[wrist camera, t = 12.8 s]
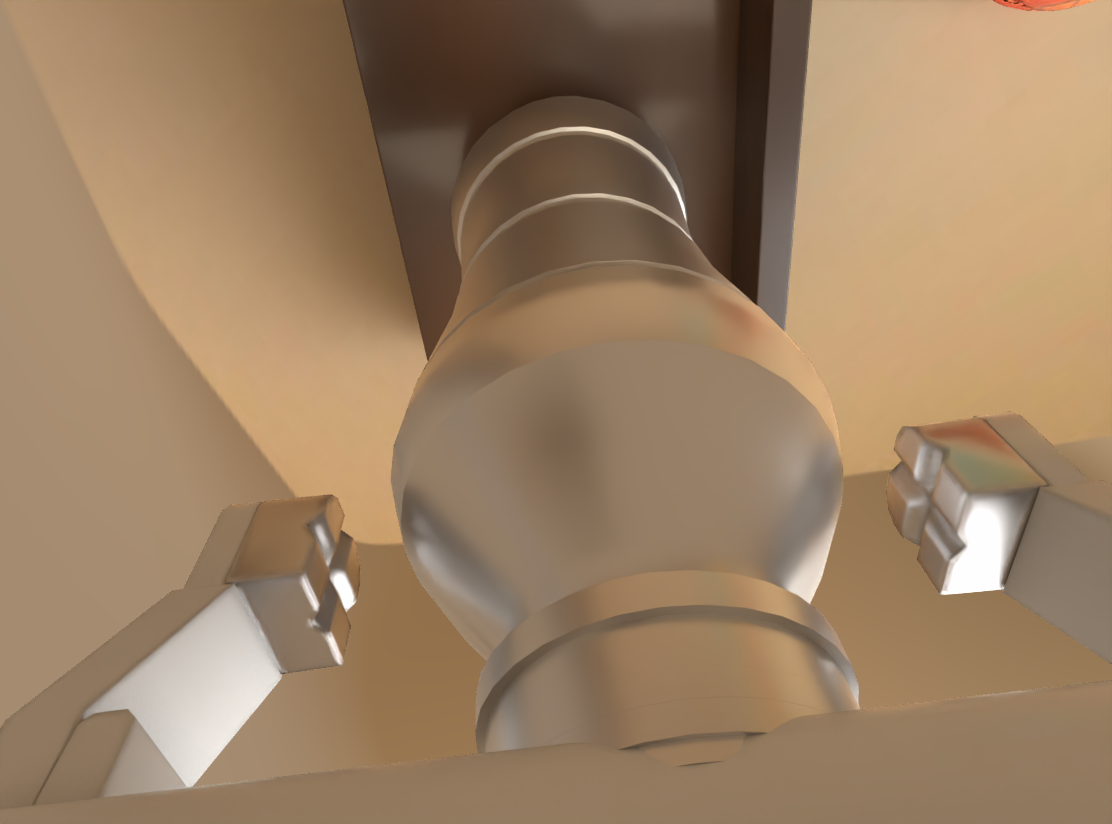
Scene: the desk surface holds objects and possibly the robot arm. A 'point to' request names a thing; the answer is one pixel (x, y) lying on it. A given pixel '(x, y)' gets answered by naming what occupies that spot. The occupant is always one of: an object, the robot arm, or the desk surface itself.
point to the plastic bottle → (617, 460)
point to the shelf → (604, 74)
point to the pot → (1042, 4)
